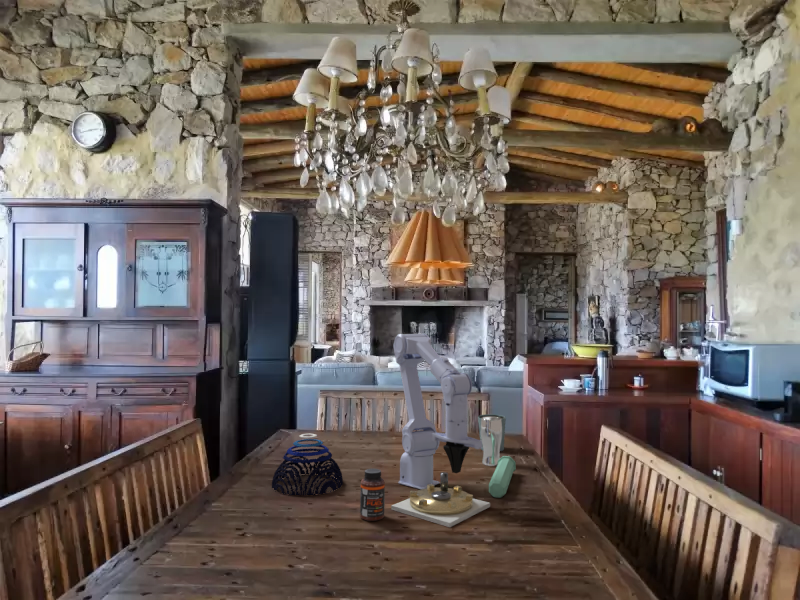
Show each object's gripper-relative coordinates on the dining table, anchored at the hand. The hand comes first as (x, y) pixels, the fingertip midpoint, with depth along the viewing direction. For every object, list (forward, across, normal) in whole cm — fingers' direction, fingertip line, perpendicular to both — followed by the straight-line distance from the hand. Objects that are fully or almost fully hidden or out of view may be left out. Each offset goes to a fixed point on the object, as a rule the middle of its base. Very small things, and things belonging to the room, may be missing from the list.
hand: (456, 472), depth 142 cm
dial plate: (+8, +1, +6) cm, 10 cm away
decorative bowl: (+9, +42, +15) cm, 45 cm away
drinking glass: (+8, +23, -56) cm, 62 cm away
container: (+9, -1, -22) cm, 23 cm away
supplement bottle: (+8, +10, +22) cm, 25 cm away
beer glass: (+8, +13, -40) cm, 42 cm away
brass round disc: (+7, +1, +6) cm, 9 cm away
